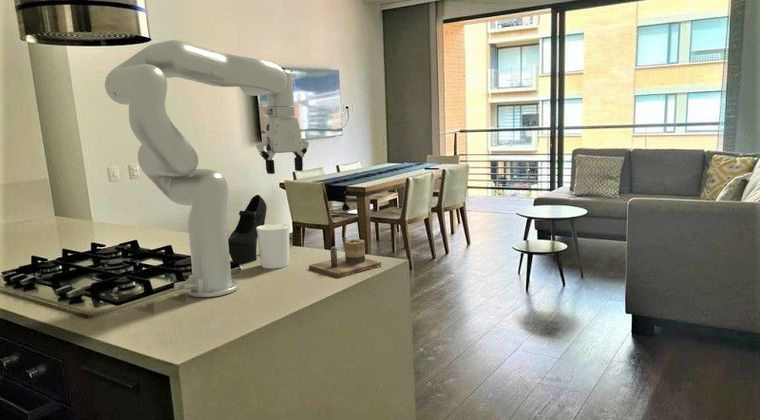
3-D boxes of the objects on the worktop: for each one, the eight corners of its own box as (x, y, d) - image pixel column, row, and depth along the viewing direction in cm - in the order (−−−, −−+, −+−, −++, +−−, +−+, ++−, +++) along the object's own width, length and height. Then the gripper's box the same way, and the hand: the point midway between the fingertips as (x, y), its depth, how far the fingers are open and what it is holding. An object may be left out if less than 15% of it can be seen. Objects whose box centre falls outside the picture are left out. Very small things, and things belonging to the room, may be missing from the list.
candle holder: (284, 269, 161) (282, 229, 159) (253, 269, 163) (250, 229, 161) (296, 261, 171) (294, 223, 169) (266, 261, 173) (264, 223, 171)
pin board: (338, 277, 151) (337, 252, 150) (309, 269, 161) (307, 245, 160) (381, 266, 161) (380, 242, 160) (351, 258, 171) (350, 236, 170)
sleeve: (354, 264, 160) (353, 244, 159) (342, 261, 164) (341, 241, 163) (368, 260, 163) (368, 241, 162) (356, 257, 167) (355, 238, 166)
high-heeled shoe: (222, 265, 169) (216, 201, 166) (257, 251, 186) (253, 193, 183) (243, 267, 166) (238, 202, 163) (277, 253, 183) (273, 193, 180)
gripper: (261, 113, 151) (266, 175, 153) (313, 112, 162) (316, 170, 165) (248, 114, 156) (252, 174, 159) (298, 113, 167) (302, 169, 170)
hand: (285, 172), depth 162 cm, fingers open, 9 cm apart
